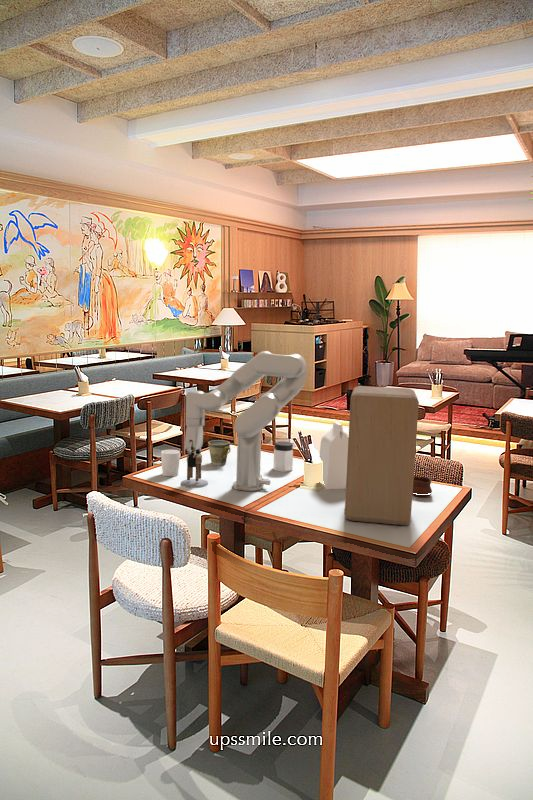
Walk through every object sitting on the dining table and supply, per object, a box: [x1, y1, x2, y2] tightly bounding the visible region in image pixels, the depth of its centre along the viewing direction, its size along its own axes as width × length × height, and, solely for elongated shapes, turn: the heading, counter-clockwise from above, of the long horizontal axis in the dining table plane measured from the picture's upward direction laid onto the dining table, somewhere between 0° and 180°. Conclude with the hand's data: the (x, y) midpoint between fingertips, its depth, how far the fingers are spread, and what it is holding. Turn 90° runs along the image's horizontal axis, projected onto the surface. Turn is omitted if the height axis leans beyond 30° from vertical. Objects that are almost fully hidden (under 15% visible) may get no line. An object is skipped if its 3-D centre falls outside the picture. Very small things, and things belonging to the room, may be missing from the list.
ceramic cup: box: [207, 439, 231, 466], centre depth 283 cm, size 13×10×10 cm
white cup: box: [160, 449, 181, 477], centre depth 264 cm, size 8×8×10 cm
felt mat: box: [180, 478, 209, 488], centre depth 253 cm, size 11×11×1 cm
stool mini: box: [186, 453, 203, 481], centre depth 252 cm, size 6×6×10 cm
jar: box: [273, 440, 294, 473], centre depth 278 cm, size 9×8×12 cm
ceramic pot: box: [412, 476, 433, 503], centre depth 247 cm, size 18×18×7 cm
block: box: [344, 385, 420, 526], centre depth 219 cm, size 22×22×45 cm
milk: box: [319, 421, 349, 490], centre depth 256 cm, size 12×12×26 cm
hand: (194, 464), depth 251 cm, fingers closed on stool mini, 6 cm apart
